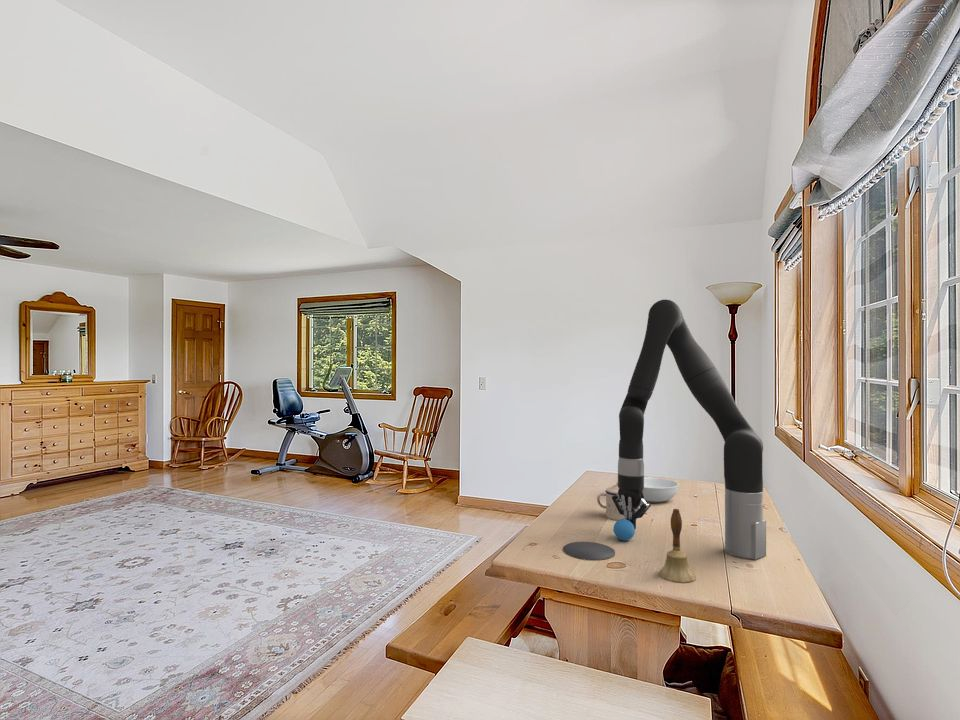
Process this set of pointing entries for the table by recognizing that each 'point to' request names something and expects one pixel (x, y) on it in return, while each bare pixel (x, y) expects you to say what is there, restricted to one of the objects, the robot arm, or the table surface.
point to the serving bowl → (659, 489)
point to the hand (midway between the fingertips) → (630, 530)
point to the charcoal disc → (589, 550)
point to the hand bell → (676, 556)
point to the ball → (624, 529)
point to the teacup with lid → (611, 503)
